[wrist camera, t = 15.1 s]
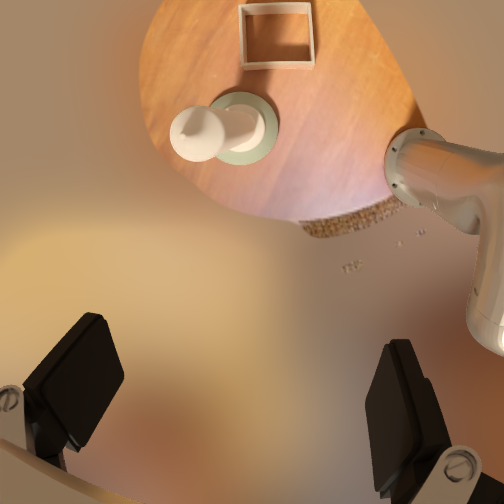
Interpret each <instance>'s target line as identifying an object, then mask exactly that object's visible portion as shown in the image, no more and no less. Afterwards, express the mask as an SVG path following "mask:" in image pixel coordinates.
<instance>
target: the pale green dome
mask: <svg viewBox="0 0 504 504" xmlns="http://www.w3.org/2000/svg"><path fill="white" fill-rule="evenodd" d="M236 104H245V105H249V106H251V107H253V108H255V109H256V110H257V111H258V112H259V113H260V114H261V115H262V117H263V119H264V122H265V134H264V137H263V139H262V141H261V142H260V143H259V144H258V145H257V146H256V147H255V148H253V149H251V150H249V151H246V152H235V151H231V150H228V151H225V152H223V153H221V154H219V155H217V156H216V157H217V158H218V159H220V160H222V161H224V162H226V163H229V164H233V165H247V164H251V163H254V162H256V161H258V160H260V159H262V158H263V157H264V156H266V155H267V154H268V153H269V151H270V150H271V149H272V147H273V146H274V144H275V141H276V139H277V135H278V121H277V117H276V115H275V112H274V111H273V109H272V107H271V106H270V105H269V104H268V103H267V102H266V101H265V100H264V99H262V98H261V97H259V96H257V95H255V94H252V93H248V92H232V93H229V94H226V95H224V96H222V97H220V98H218V99H217V100H216V101H215V102H213V104H212V105H211V106H210V107H213V108H219V109H226V108H228V107H230V106H232V105H236Z"/></svg>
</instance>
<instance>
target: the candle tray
mask: <svg viewBox="0 0 504 504" xmlns="http://www.w3.org/2000/svg"><path fill="white" fill-rule="evenodd" d="M238 9H239V33H240V56H241V66H242V68H243V69H244V70H245V71H246V70H265V69H313V68H314V65H315V57H314V41H313V28H312V15H311V4H310V2H276V3H255V4H242V5H238ZM262 14H306V16H307V28H308V42H309V59H310V61H271V62H250V63H247V40H246V18H245V16H247V15H262Z"/></svg>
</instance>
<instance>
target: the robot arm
mask: <svg viewBox="0 0 504 504" xmlns="http://www.w3.org/2000/svg"><path fill="white" fill-rule="evenodd" d="M420 131H421V134H420ZM393 147H394V150H392V148H393ZM384 173H385V178H386V181H387V184H388V186H389V188H390V190H391V191H392V193H393V194H394V195H395V196H396V197H397V198H398V199H399V200H401V201H402V202H404V203H405V204H407V205H410V206H412V207H418V208H423V207H427V208H429V209H430V210H431V211H433V212H434V213H436V214H437V215H438V216H440V217H441V218H442V219H444V220H445V221H446V222H448V223H449V224H450V225H452V226H453V227H454V228H456V229H457V230H459V231H461V232H463V233H466V234H470V235H480V237H479V244H478V254H477V260H476V265H475V270H474V275H473V280H472V284H471V289H470V295H469V299H468V304H467V310H466V320H467V325H468V328H469V330H470V332H471V334H472V335H473V337H474V338H475V339H476V340H477V341H478V342H479V343H480V344H481V345H483V346H484V347H486V348H487V349H489V350H491V351H493V352H495V353H496V354H499V355H501V356H503V357H504V153H496V152H490V151H485V150H481V149H476V148H472V147H468V146H463V145H458V144H454V143H449V142H446V141H445V139H444V138H443V137H442V136H440V135H439V134H438V133H436V132H434V131H432V130H430V129H426V128H411V129H407V130H405V131H403V132H401V133H400V134H398V135H397V136H396V137H395V138H394V139H393V140H392V142H391V143H390V145H389V147H388V149H387V152H386V154H385V159H384ZM393 183H394V186H392V184H393ZM419 202H420V203H419ZM123 380H124V371H123V368H122V366H121V363H120V360H119V357H118V354H117V351H116V348H115V345H114V342H113V340H112V336H111V333H110V330H109V327H108V323H107V321H106V320H105V319H104V318H103V316H102V315H100V314H95V313H90V312H87V313H85V314H84V315H83V316H82V317H81V318H80V319H79V320H78V321H77V323H76V324H75V325H74V326H73V327H72V328H71V329H70V330H69V331H68V332H67V333H66V334H65V336H64V337H63V338H62V339H61V340H60V341H59V342H58V344H57V345H56V346H55V347H54V348H53V349H52V350H51V351H50V352H49V353H48V355H47V356H46V357H45V358H44V359H43V360H42V362H41V363H40V364H39V365H38V366H37V367H36V369H35V370H34V371H33V372H32V373H31V374H30V376H29V377H28V378H27V379H26V380H25V382H24V383H23V384H22V385H23V386H24V388H25V390H24V391H22V390H21V388H19V387H17V386H15V385H7V386H4V387H2V388H0V504H144V503H141V502H138V501H135V500H132V499H129V498H126V497H124V496H121V495H118V494H115V493H112V492H110V491H108V490H105V489H102V488H100V487H98V486H95V485H93V484H91V483H88V482H86V481H84V480H82V479H80V478H77V477H75V476H73V475H71V474H69V473H68V472H67V468H66V463H65V459H64V454H63V448H64V447H65V446H66V447H67V448H68V449H71V450H73V451H75V452H77V453H78V452H79V451H80V449H81V447H84V446H85V445H86V444H87V442H88V441H89V439H90V437H91V435H92V433H93V432H94V430H95V428H96V427H97V425H98V423H99V421H100V419H101V418H102V416H103V414H104V413H105V411H106V409H107V407H108V406H109V404H110V402H111V401H112V399H113V397H114V396H115V394H116V392H117V391H118V389H119V387H120V385H121V384H122V382H123ZM365 410H366V417H367V424H368V432H369V439H370V448H371V456H372V466H373V476H374V487H375V491H376V492H380V499H383V498H391V504H504V484H503V483H501V482H499V481H497V480H495V479H494V478H492V477H490V476H488V475H486V474H484V473H483V472H481V469H482V466H481V465H482V464H481V460H480V457H479V455H478V454H477V453H476V452H475V451H474V450H473V449H471V448H470V447H466V446H463V445H456V446H453V447H452V444H451V441H450V437H449V434H448V431H447V428H446V425H445V422H444V418H443V415H442V412H441V409H440V406H439V403H438V401H437V398H436V395H435V392H434V389H433V387H432V384H431V382H430V380H429V379H428V378H424V376H423V373H422V370H421V368H420V365H419V362H418V360H417V357H416V355H415V352H414V349H413V347H412V344H411V342H410V340H409V339H392V340H391V341H390V343H389V344H385V345H384V348H383V351H382V355H381V357H380V360H379V364H378V366H377V369H376V372H375V375H374V378H373V381H372V383H371V386H370V389H369V392H368V394H367V397H366V401H365Z"/></svg>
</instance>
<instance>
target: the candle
mask: <svg viewBox="0 0 504 504" xmlns="http://www.w3.org/2000/svg"><path fill="white" fill-rule="evenodd" d="M264 134H265V122H264V119H263V117H262V115H261V114H260V113H259V112H258V111H257V110H256V109H255V108H253V107H251V106H249V105H245V104H236V105H232V106H230V107H228V108H226V109H219V108H213V107H207V106H200V105H197V106H191V107H188V108H186V109H184V110H183V111H181V112H180V113H179V114H178V115H177V116H176V117H175V119H174V120H173V122H172V125H171V128H170V140H171V144H172V146H173V148H174V150H175V151H176V152H177V153H178V154H179V155H180V156H181V157H183V158H184V159H186V160H189V161H194V162H201V161H205V160H208V159H210V158H212V157H215V156H217V155H219V154H221V153H223V152H225V151H228V150H231V151H235V152H246V151H249V150H251V149H253V148H255V147H256V146H257V145H258V144H259V143H260V142H261V141H262V139H263V137H264Z"/></svg>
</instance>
